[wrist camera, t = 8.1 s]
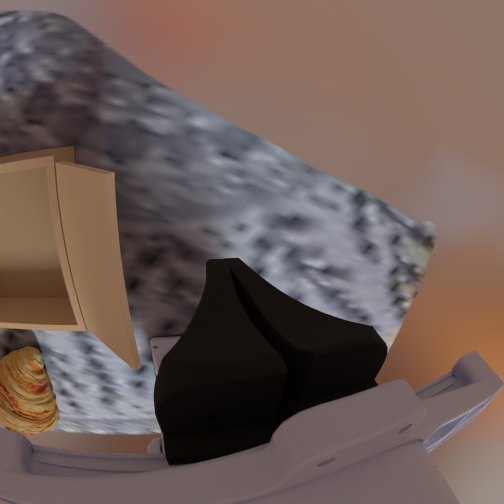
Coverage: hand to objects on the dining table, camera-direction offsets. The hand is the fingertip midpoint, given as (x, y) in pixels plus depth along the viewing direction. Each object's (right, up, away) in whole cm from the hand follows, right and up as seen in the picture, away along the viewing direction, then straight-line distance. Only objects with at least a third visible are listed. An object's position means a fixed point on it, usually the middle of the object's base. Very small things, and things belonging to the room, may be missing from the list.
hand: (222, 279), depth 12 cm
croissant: (-27, -16, +13) cm, 34 cm away
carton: (-17, +3, +6) cm, 19 cm away
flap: (-8, 0, +3) cm, 8 cm away
